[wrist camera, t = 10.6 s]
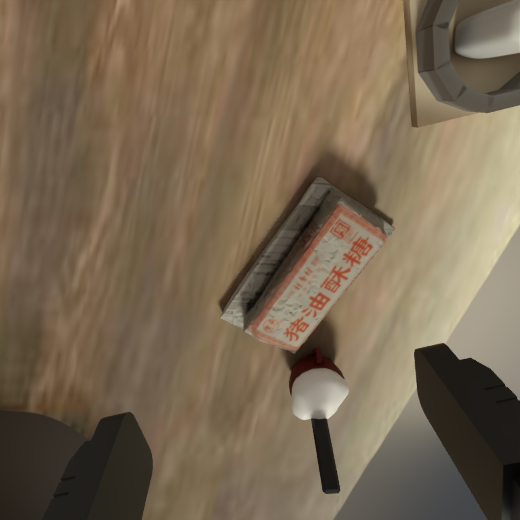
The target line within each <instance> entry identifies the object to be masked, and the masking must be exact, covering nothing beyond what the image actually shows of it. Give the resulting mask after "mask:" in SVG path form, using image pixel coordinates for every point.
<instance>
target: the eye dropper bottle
mask: <svg viewBox="0 0 520 520" xmlns="http://www.w3.org/2000/svg"><path fill="white" fill-rule="evenodd" d="M454 49H455V52H456V53H457V54H459V55H461V56H464V57H468V58H474V59H484V58H492V57H498V56H504V55H509V54H515V53H520V0H513V1H510V2H507V3H504V4H502V5H499V6H496V7H493V8H491V9H488V10H485V11H482V12H480V13H477V14H474V15H472V16H470V17H468V18H466V19H464V20H463V21H461V22H460V23H459V24H458V25H457V27H456V32H455V43H454Z"/></svg>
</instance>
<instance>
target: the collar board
mask: <svg viewBox="0 0 520 520" xmlns="http://www.w3.org/2000/svg"><path fill="white" fill-rule="evenodd" d="M510 1H513V0H403V3H404V17H405V32H406V46H407V61H408V75H409V90H410V104H411V119H412V127H417V128H418V127H422V126H426V125H430V124H434V123H439V122H443V121H447V120H451V119H455V118H459V117H463V116H467V115H471V114H475V113H479V112H481V113H490V112H494V111H498V110H502V109H506V108H510V107H514V106H518V105H520V53H515V54H509V55H504V56H498V57H492V58H484V59H474V58H468V57H464V56H461V55H459V54H457V53H456V52H455V49H454V43H455V32H456V27H457V25H458V24H459V23H460V22H461V21H463V20H464V19H466V18H468V17H470V16H472V15H474V14H477V13H480V12H482V11H485V10H488V9H491V8H493V7H496V6H499V5H502V4H504V3H507V2H510Z"/></svg>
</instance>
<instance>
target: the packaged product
mask: <svg viewBox="0 0 520 520" xmlns="http://www.w3.org/2000/svg"><path fill="white" fill-rule="evenodd" d="M394 229H395V228H394V227H393V226H392V225H390V224H389V223H388V222H386V221H385V220H383V219H382V218H381V217H379V216H378V215H376V214H375V213H374V212H372V211H371V210H369V209H368V208H366V207H365V206H363V205H362V204H360V203H358V202H357V201H355V200H354V199H352V198H350V197H349V196H347V195H346V194H344V193H343V192H341V191H340V190H338V189H337V188H336V187H334V186H333V185H332V184H330V183H329V182H327V181H326V180H325V179H323V178H321V177H316V178H315V180H314V181H313V182H312V184H311V185H310V187H309V188H308V190H307V191H306V193H305V194H304V196H303V197H302V199H301V200H300V202H299V203H298V204H297V206H296V207H295V208H294V210H293V211H292V212H291V213H290V215H289V216H288V217H287V219H286V220H285V221H284V222H283V224H282V225H281V226H280V228H279V229H278V231H277V232H276V234H275V235H274V236H273V238H272V239H271V240H270V242H269V243H268V245H267V246H266V247H265V249H264V250H263V251H262V253H261V254H260V256H259V257H258V258H257V260H256V261H255V263H254V264H253V266H252V267H251V269H250V270H249V271H248V273H247V274H246V276H245V277H244V279H243V280H242V282H241V283H240V285H239V286H238V288H237V289H236V291H235V292H234V294H233V295H232V297H231V298H230V300H229V301H228V303H227V305H226V306H225V308H224V310H223V312H222V315H221V318H222V319H223V320H225V321H227V322H229V323H231V324H233V325H236V326H238V327H240V328H242V329H243V330H244V332H247V333H248V334H250V335H251V336H253V337H255V338H256V339H258V340H259V341H260V342H264V343H267V344H269V343H270V344H272V345H276V346H278V347H281V348H283V349H284V350H288V351H290V352H292V353H293V354H295V353H296V351H297V350H298V349H299V348H300V346H301V345H302V344H303V343H304V342H305V341H306V340H307V339H308V337H309V336H310V334H311V333H312V332H313V331H314V330H315V328H316V327H317V326H318V325H319V323H320V322H321V321H322V320H323V318H324V317H325V316H326V315H327V314H328V312H329V311H330V310H331V309H332V307H333V306H334V305H335V303H336V302H337V301H338V300H339V298H340V297H341V296H342V295H343V294H344V292H345V291H346V290H347V288H348V287H349V286H350V285H351V284H352V282H353V281H354V280H355V279H356V277H357V276H358V275H359V274H360V273H361V271H362V270H363V269H364V268H365V266H366V265H367V264H368V262H369V261H370V260H371V259H372V258H373V257H374V255H375V254H376V253H377V252H378V250H379V249H380V248H381V247H382V246H383V244H384V243H385V241H386V240H387V238H388V237H389V236H390V235H391V233H392V232H393V231H394Z"/></svg>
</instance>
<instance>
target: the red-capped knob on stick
mask: <svg viewBox="0 0 520 520" xmlns="http://www.w3.org/2000/svg"><path fill="white" fill-rule="evenodd" d="M289 388H290V393H291V408H292V411H293V414H294V415H296V416H297V417H298V418H300V419H303V420H307V419H311V421H312V428H313V434H314V440H315V446H316V452H317V459H318V465H319V471H320V477H321V483H322V490H323V492H324V493H325V494H332V493H339V491H340V485H339V480H338V475H337V470H336V464H335V459H334V454H333V449H332V444H331V438H330V433H329V428H328V423H327V419H328V418H329V417H331V416H332V415H333V414H334V413H335V412H336V411H337V409H338V407H339V405H340V404H341V403H342V402H343V401H344V399H345V398H346V396H347V395H348V392H349V390H350V389H349V386H348V384H347V382H346V381H345V380H344V377H343V375H342V372H341V371H340V370H339V368H338V367H337V366H336V365H335V364H334V363H333V362H332V361H331V360H330V359H329V358H326V357H324V356H321V351H320V349H319V348H314V349H313V351H312V354H311V355H309V356H307V357H304V358H302V359H300V360H299V361H298V362H297V363H296V364H295V365H294V366H293V369H292V372H291V376H290V381H289Z"/></svg>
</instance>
